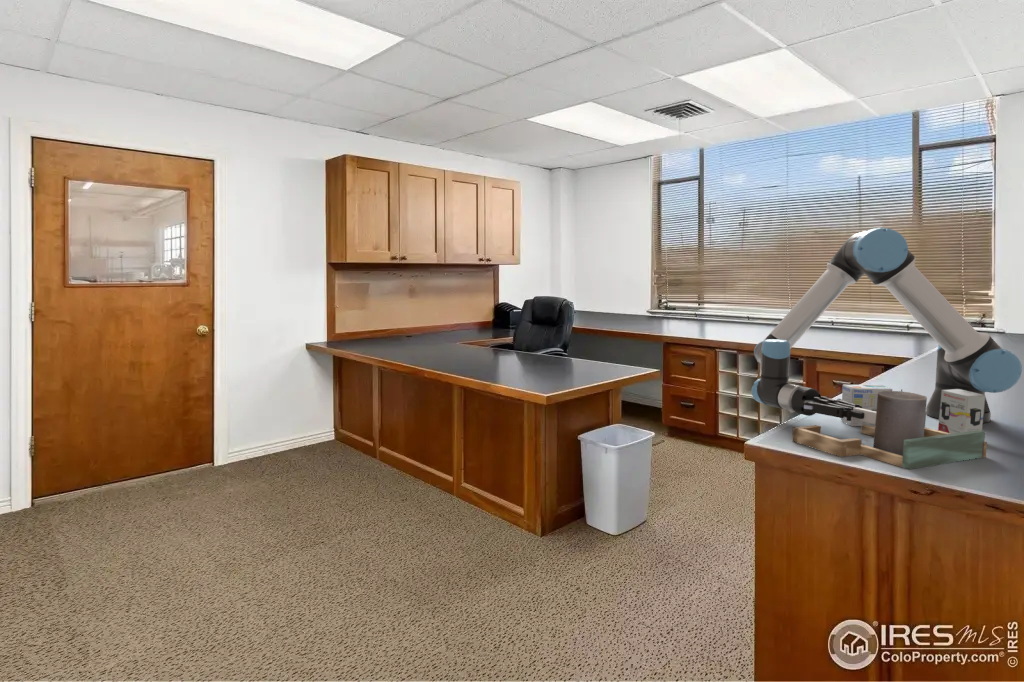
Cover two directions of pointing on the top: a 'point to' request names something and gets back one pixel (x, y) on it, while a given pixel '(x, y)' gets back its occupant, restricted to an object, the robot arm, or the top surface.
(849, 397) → the light bulb box
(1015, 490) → the top surface
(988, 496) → the top surface
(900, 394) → the pillar candle
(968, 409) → the ink box
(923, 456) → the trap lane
